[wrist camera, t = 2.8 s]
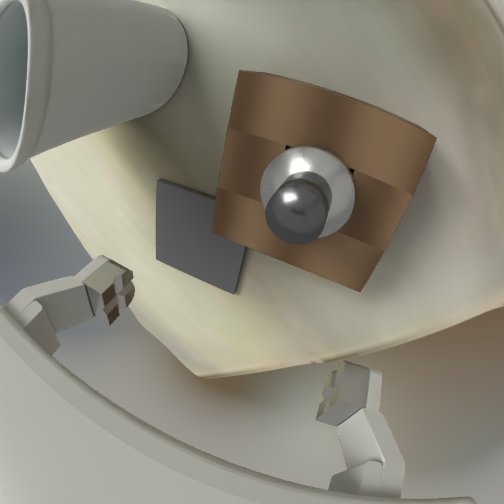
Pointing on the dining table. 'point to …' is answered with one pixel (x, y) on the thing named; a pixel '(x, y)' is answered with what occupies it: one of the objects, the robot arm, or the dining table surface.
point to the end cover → (307, 193)
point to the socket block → (337, 140)
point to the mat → (194, 237)
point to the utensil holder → (81, 69)
